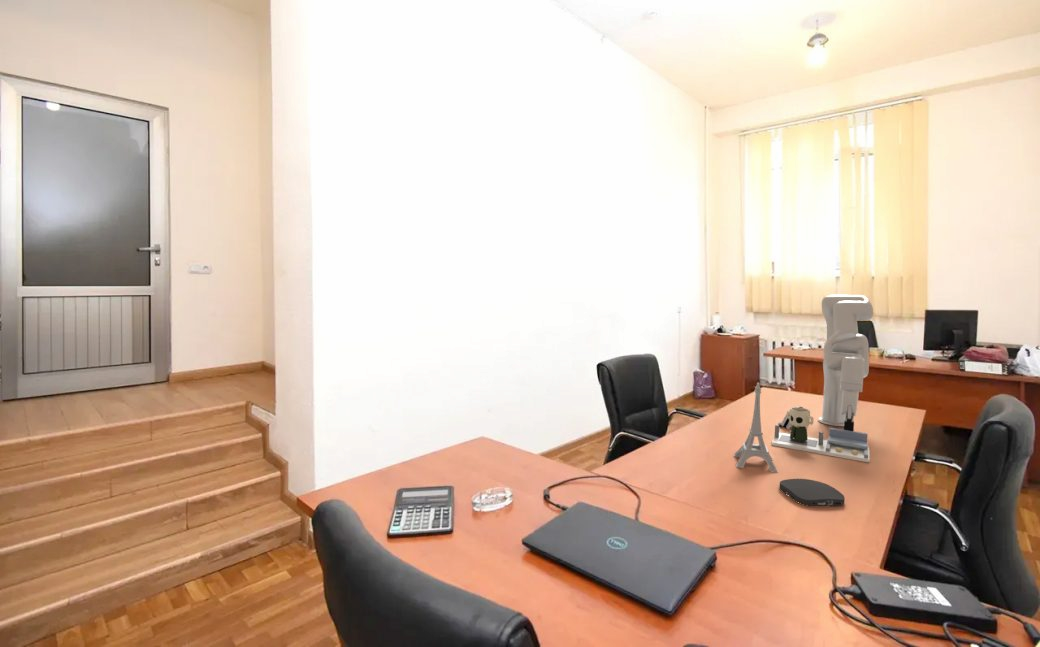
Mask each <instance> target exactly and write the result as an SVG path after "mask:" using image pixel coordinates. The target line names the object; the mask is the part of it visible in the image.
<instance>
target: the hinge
mask: <svg viewBox="0 0 1040 647" xmlns="http://www.w3.org/2000/svg"><path fill="white" fill-rule="evenodd" d="M794 407H799V408H804V406H800V405H796V406H794ZM788 411H790V409H788ZM789 417H790V413H789ZM777 425H779V427H785V428H786V429H787V430H789V428H790V429H792V428H791V427H792V426H793V425H792V424H791V423H790V421H789V419H788V418H787V413H786V414H785V416H784V417H783V419H782V421H780V422H778V424H777ZM780 425H781V426H780Z"/></svg>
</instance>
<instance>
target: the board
mask: <svg viewBox="0 0 1040 647" xmlns="http://www.w3.org/2000/svg"><path fill="white" fill-rule="evenodd" d="M824 436H825V434H824V431H823V432H822V431H819V432H818V437H817V438H816V437H809V436H807V438H808V440H807V441H804V442H801V441H795V439H794V438H793V440H792V439H790V433H785V432H780V426H779V425H778V424H775V425H774V437H773V439H772V441H771V445H772V446H775V447H779V448H780V447H781V448H785V449H791V450H796V451H797V450H798V451H801V452H802V451H804V452H809V453H814V454H820V455H826V456H830V457H831V456H832V457H837V458H842V459H848V460H851V461H852V460H854V461H859V462H866V463H870V446H869V444H868V443H867V449H864V448H857V447H851V446H845V445H839V444H833V443H828V439H829V437H827V439H824Z"/></svg>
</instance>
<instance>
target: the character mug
mask: <svg viewBox="0 0 1040 647" xmlns="http://www.w3.org/2000/svg"><path fill="white" fill-rule="evenodd" d="M789 410H790V411H789ZM789 410H787V411H786V414H787V418H788V419H789V421H790V423H791V424H792V425H793V426H792V428H790V429H791V430H790V433H789V434H790V439H792V440H793V438H794V439H795V441H801V442H804V441H807V440H808V438H807V437H808V431H807V430H808V429H807V427H809V426H813V425H814V420H815V419H814V417H813V416H811V410H810V409H809V408H804V407H803V408H799V407H795V406H793V407H790V408H789ZM789 413H790V417H789Z"/></svg>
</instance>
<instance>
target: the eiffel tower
mask: <svg viewBox="0 0 1040 647" xmlns="http://www.w3.org/2000/svg"><path fill="white" fill-rule="evenodd" d="M754 393H755V397H754V405H753V406H754V408H753V416H752V422H751V427H750V428H749V433H748V436H747V437H746V440H745V441H744V442H742V446H741V447H740V448H738V449H737V451H735V453H733V457H734V456H735V457H734V458H737V457H740V458H739V459H738V461H737V463H736V464H735V468H737V467H739V468H738V469H745V465H746V463H747V461H748V459H750V458H753V457H756V458H757V457H758V458H760V459H763V460H764V461H765V462H766V464H767V465H768V471H769V472H770V471H773V472H772V473H779V471H778V469H777V467H776V466H775V464H774V462H772V461H774V459H773V458H772V456H771V454H770V451H769V449H768V447H767V444H765V441H764V438H763V435H764V432H763V430H762V424H761V423H762V421H761V394H762V388H761V386H760V382H756V386H755V387H754ZM755 438H757V440H758V443H754V441H755Z"/></svg>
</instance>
